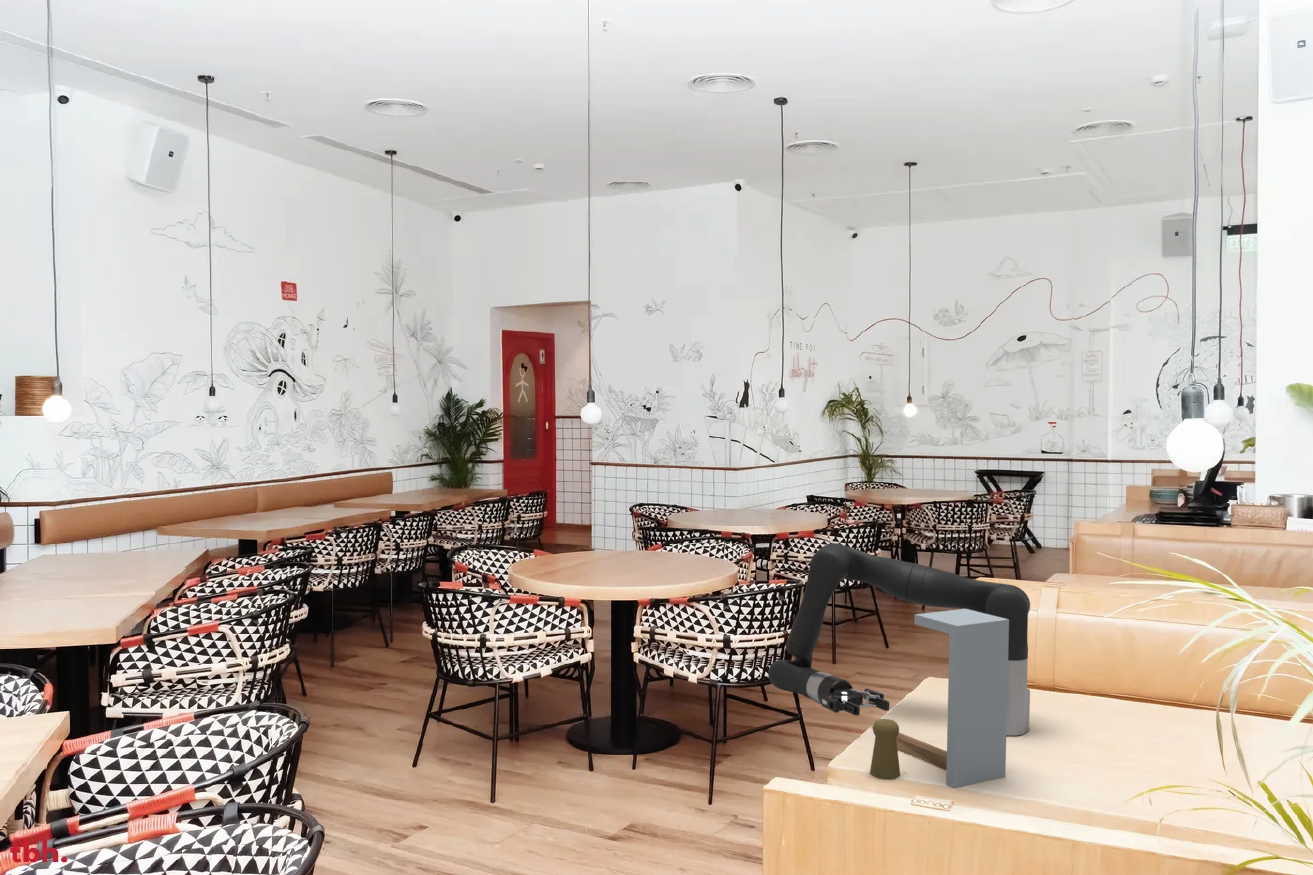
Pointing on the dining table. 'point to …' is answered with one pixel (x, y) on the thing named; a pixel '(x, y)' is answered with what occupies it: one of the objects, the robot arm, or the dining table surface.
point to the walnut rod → (922, 751)
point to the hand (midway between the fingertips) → (873, 708)
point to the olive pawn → (885, 750)
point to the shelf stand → (974, 693)
